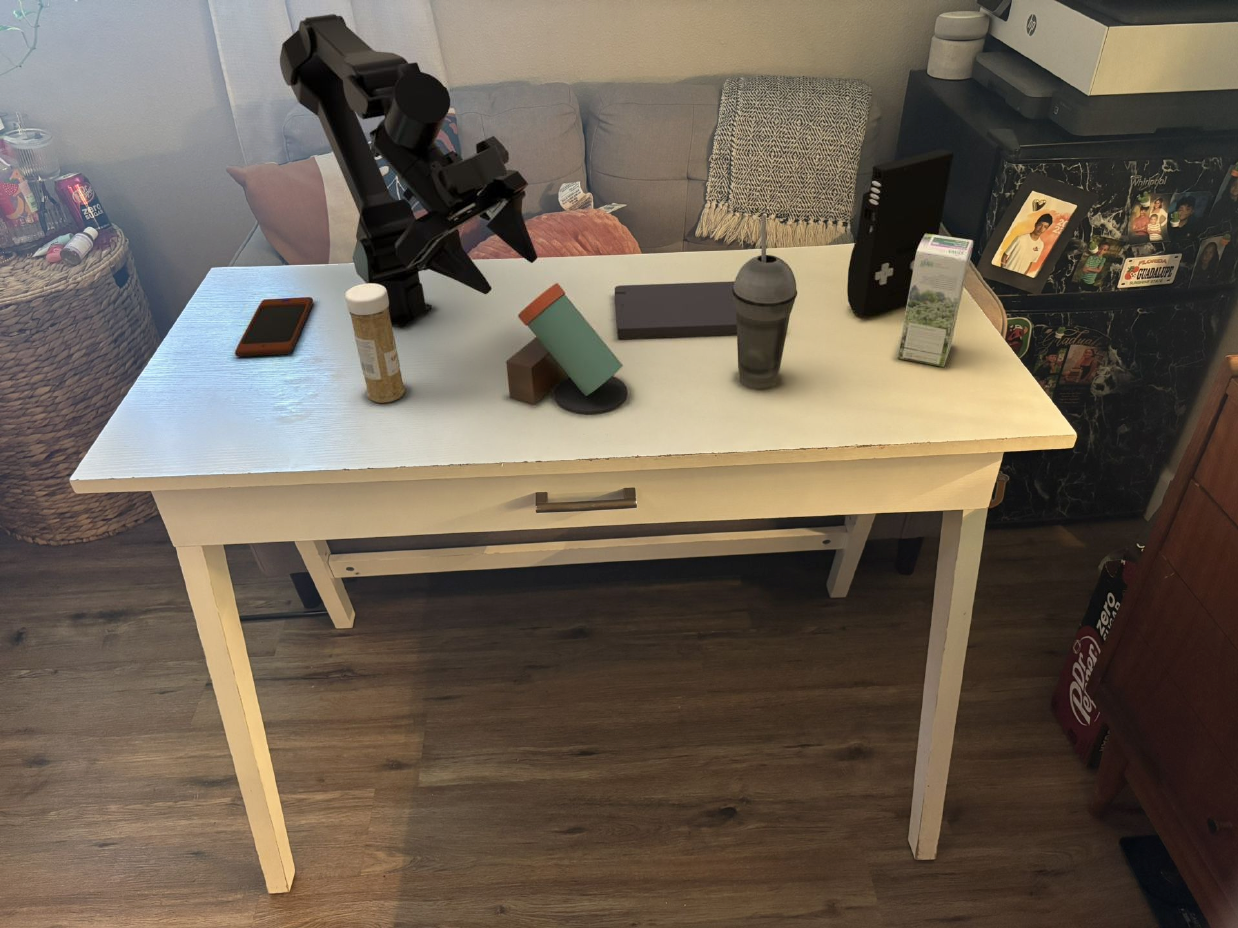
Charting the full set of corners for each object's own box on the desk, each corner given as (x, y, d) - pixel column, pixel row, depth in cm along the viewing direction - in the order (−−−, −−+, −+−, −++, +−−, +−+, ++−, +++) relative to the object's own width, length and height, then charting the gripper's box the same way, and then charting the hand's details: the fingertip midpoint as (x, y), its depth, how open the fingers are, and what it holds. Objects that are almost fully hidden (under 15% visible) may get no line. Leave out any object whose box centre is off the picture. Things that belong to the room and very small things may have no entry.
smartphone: (312, 295, 130) (289, 348, 118) (314, 301, 131) (291, 354, 119) (261, 298, 130) (233, 351, 118) (263, 304, 130) (235, 357, 118)
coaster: (540, 403, 108) (540, 400, 108) (578, 369, 114) (578, 366, 114) (604, 421, 105) (604, 418, 105) (640, 386, 111) (640, 383, 111)
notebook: (617, 339, 120) (781, 333, 121) (617, 328, 119) (782, 322, 120) (614, 295, 131) (765, 290, 131) (614, 285, 130) (766, 279, 130)
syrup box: (951, 347, 117) (975, 237, 108) (943, 369, 113) (967, 257, 104) (905, 338, 119) (925, 230, 110) (896, 360, 115) (915, 249, 106)
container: (515, 385, 111) (505, 289, 103) (542, 363, 115) (535, 269, 108) (606, 411, 106) (603, 312, 98) (631, 387, 110) (629, 290, 103)
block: (509, 397, 110) (505, 360, 107) (554, 359, 117) (552, 324, 114) (534, 405, 108) (531, 367, 105) (578, 366, 115) (576, 330, 112)
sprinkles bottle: (411, 396, 110) (392, 292, 102) (375, 408, 108) (353, 303, 100) (396, 380, 113) (377, 278, 105) (360, 391, 111) (338, 288, 103)
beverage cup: (749, 401, 108) (761, 237, 96) (715, 373, 113) (723, 214, 101) (801, 385, 110) (818, 223, 98) (765, 358, 116) (778, 202, 104)
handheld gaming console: (863, 322, 123) (885, 172, 111) (840, 309, 126) (859, 161, 114) (930, 300, 127) (958, 153, 116) (906, 287, 131) (931, 143, 119)
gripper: (398, 144, 92) (502, 270, 94) (506, 97, 105) (595, 208, 107) (353, 209, 99) (449, 323, 102) (459, 157, 112) (542, 259, 115)
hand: (512, 275), depth 106 cm, fingers open, 9 cm apart
